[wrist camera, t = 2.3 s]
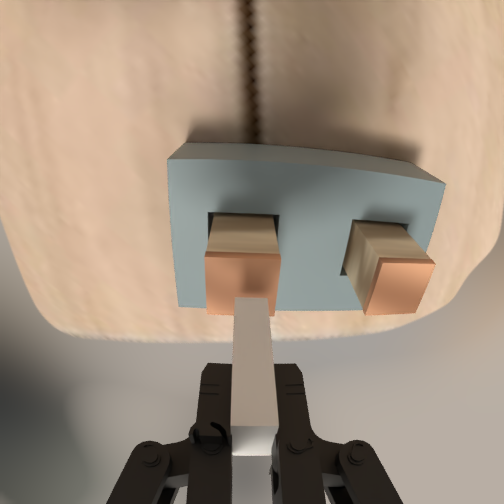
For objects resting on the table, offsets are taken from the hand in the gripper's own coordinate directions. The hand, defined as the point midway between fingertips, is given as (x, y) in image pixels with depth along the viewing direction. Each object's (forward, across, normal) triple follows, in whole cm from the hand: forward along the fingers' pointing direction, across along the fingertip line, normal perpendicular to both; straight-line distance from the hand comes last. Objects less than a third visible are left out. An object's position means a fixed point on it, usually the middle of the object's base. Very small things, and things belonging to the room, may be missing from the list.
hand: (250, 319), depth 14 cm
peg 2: (+9, +10, 0) cm, 13 cm away
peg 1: (+9, 0, 0) cm, 9 cm away
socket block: (+14, +5, 0) cm, 15 cm away
